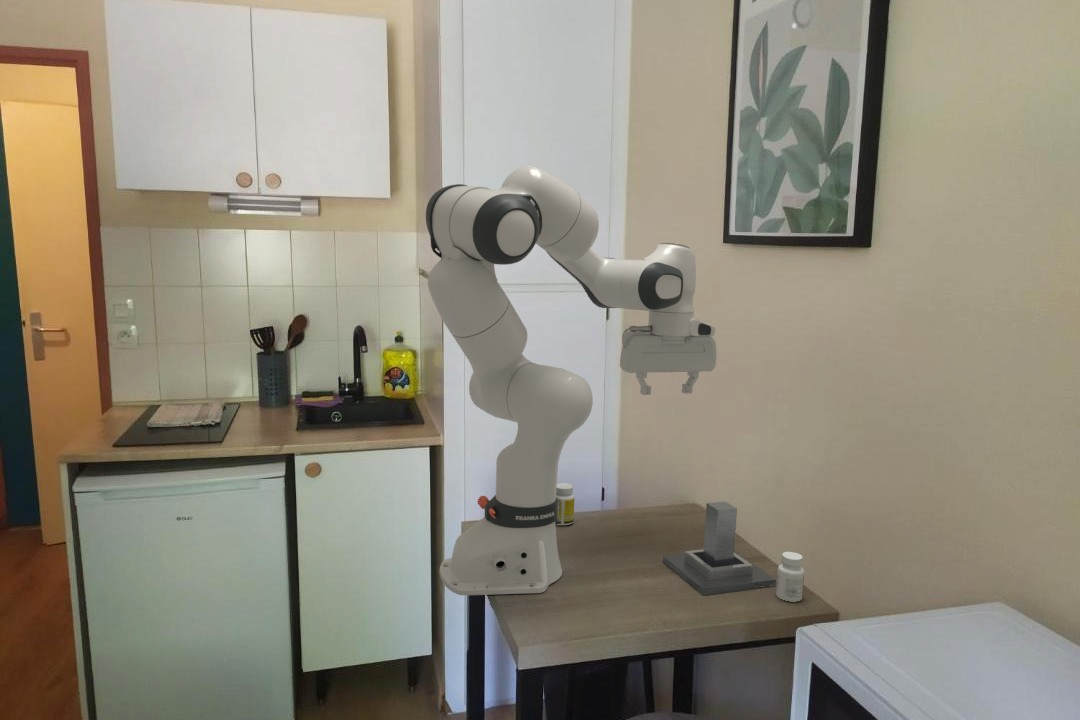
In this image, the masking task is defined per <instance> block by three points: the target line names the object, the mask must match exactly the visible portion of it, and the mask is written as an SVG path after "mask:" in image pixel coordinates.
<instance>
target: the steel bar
mask: <svg viewBox="0 0 1080 720" xmlns="http://www.w3.org/2000/svg"><path fill="white" fill-rule="evenodd" d="M705 506H706V507H705V521H704V538H703V548H702V549H703V561H704V562H705V563H707V564H708V565H709V566H711V567H712V568H714V567H722V566H730V565H733V559H734V551H735V542H736V530H737V529H736V528H737V516H738V515H737V514H738V507H735V506H734V505H732V504H731V503H728V502H727V501H715V502H707V503H706V505H705Z"/></svg>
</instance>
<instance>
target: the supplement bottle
mask: <svg viewBox="0 0 1080 720" xmlns="http://www.w3.org/2000/svg"><path fill="white" fill-rule="evenodd" d="M556 497H557V498H558V508H559V514H558V523H557V524H562V525H567V524H572V523H573V524H574V520H575V494H574V486H573V484H571V483H566V482H560V483H557V487H556ZM573 524H572V525H573Z"/></svg>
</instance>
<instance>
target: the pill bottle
mask: <svg viewBox="0 0 1080 720" xmlns="http://www.w3.org/2000/svg"><path fill="white" fill-rule="evenodd" d="M803 557H804V556H803V555H802V554H800V553H797V552H793V551H785V552H782V554H781V560H780V561H781V564H779V565H778V568H777V575H776V576H777V577H776V586H775V587H776V589H775V596H776V597H777V598H778V599H780V600H781V599H782V600H781V601H784V600H785V602H787V601H789V603H797V601H798V602H800V601H801V600H802V598H803V592H804V581H805V569H804V568H803V567H802V566H803Z"/></svg>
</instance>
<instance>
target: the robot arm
mask: <svg viewBox="0 0 1080 720" xmlns="http://www.w3.org/2000/svg"><path fill="white" fill-rule="evenodd" d="M428 200H429V201H428V202H427V205H426V209H425V223H426V227H427V231H428V234H429V236H430V237H429V238H430V247H431V250H432V252H433V253H434V254H435V255H436V256H437V257H439V258H441V259H439V261H438V262H436V263H435V264H434V266H433V267H432V268H431V270H430V272H429V274H428V277H427V289H428V291H429V293H430V296H431V299H432V301H433V303H434V306H435V308H436V310H437V312H438V314H439V316H440V318H441V320H442V321H443V323H444V325H445V326H446V328H447V330H448V331H449V333H450V334H451V335H452V338H454V340H455V342H456V343H457V345H458V346H459V348H460V349H461V351H462V352H463V354H464V356H465V357H466V359H467V360H468V361H469V363H470V366H471V368H472V374H471V376H470V379H469V384H468V385H469V386H468V390H469V396H470V399H471V401H472V404H474V406H476V407H477V408H479V409H480V410H482V411H484V412H485V413H487V414H488V415H491V416H493V417H495V418H498V419H501V420H507V421H509V422H513V423H514V422H515V423H517V430H516V431H517V433H516V436H515V439H514V441H513V443H511V444H509V445H507V446H505V447H504V448H503V449H502V450H501V451H500V452H499V453H498V455H497V458H496V462H495V463H496V465H495V466H496V469H495V473H496V474H495V495H494V496H493V497H492V498H490V499H489V498H488V497H487V496H485V495H480V496H479V497H478V498H477V505H478V506H479V507H480V508H481V509H482V510H484V517H483V518H481V519H480V520H479V521H478V522H476V523H475V524H473V525H472V526H471V527H469V528H468V529H467V530H466V531H464V532H462V533H461V534H460V535H459V536H458V537H457V538H456V540H455V543H454V545H453V546H454V547H453V550H452V555H451V557H449V558H446V559H444V560H443V561H442V562H441V563H440V566H439V571H438V574H439V577H440V579H441V582H442V584H443V585H444V587H446V588H447V589H448V590H449V591H450V592H452V593H454V594H456V595H459V596H483V595H484V596H486V595H491V596H492V595H512V594H513V595H518V594H519V595H520V594H521V595H523V594H541V593H544V592H546V590H547V589H548V587H549V586H550V585H551V584H553V583H555V582H557V581H558V580H559V579H560V578H561V576H562V574H563V568H562V565H561V561H560V556H559V550H558V539H557V527H558V525H557V523H558V514H559V508H558V498H557V497H556V487H557V484H558V483H557V482H558V481H557V480H558V471H559V462H560V457H561V453H562V450H563V448H564V446H565V443H566V441H567V440H568V438H570V436H571V434H573V433H574V432H575V431H577V430H578V429H580V428H581V427H582V426H583V425H584V424H585V422H586V421H587V420H588V419H589V417H590V414H591V412H592V410H593V409H592V408H593V404H594V403H593V402H594V401H593V391H592V389H591V385H590V383H589V382H588V381H587V380H586V379H585V378H584V377H583V376H580V375H578V374H577V373H573V372H571V371H569V370H567V369H564V368H562V367H561V368H560V367H557V366H555V367H554V366H550V365H544V364H538V363H535V362H533V361H531V360H529V359H528V358H526V357H525V356H524V354H523V352H524V350H525V348H526V345H527V341H528V331H527V328H526V326H525V324H524V323H523V321H522V320H521V318H520V316H519V314H518V313H517V311H516V309H515V307H514V306H513V304H512V302H511V301H510V299H509V297H508V295H507V294H506V293H505V291H504V289H503V287H502V286H501V285H500V283H499V282H498V280H499V279H498V278H497V273H496V269H495V265H500V266H501V265H513V264H516V263H519V262H521V261H522V260H524V259H525V258H526V257H527V256H529V254H530V253H531V251H532V250H533V249H534V247H535V245H537V246H538V247H540V248H541V249H542V250H544V251H545V252H546V253H547V254H548V256H549V257H550V258H551V259H552V260H553V261H554V262H555V263H557V264H558V265H559V266H560V267H561V268H562V269H564V270H565V271H566V273H568V274H569V275H570V276H572V278H574V279H575V280H576V281H577V282H578V283H579V284H580V285H581V287H582V288H583V290H584V292H585V293H586V295H587V297H588V298H589V300H590V301H591V302H592V303H593V304H594V305H595V306H596V307H598V308H602V309H624V310H625V309H626V310H634V311H647V312H648V322H647V323H648V324H647V325H639V326H638V325H629V327H627V328H626V329H625V330H624V331H623V332H622V338H621V342H622V347H621V352H620V358H619V359H620V360H619V367H620V368H621V371H623V372H624V373H629V374H635V378H636V379H637V382H638V383H639V385H640V391H639V392H640V394H641V395H642V396H650V395H651V394H652V386H651V385H648V384H647V381H646V379H647V378H648V374H649V373H651V374H652V373H655V374H656V373H687V376H689V377H687V380H686V383H682V384H681V385H682V386H681V392H682V394H687V395H688V394H693V390H694V389H693V387H694V385H695V383H696V382H697V380H698V378H699V372H700V373H701V372H713V370H714V369H715V367H716V365H717V343H716V340H715V338H714V336H715V335H716V326H714V325H713V324H710V323H707V322H704V321H702V320H699V319H697V318H695V317H694V314H695V313H694V312H695V310H694V309H695V308H694V303H693V299H694V296H695V292H696V284H697V282H696V281H697V279H696V278H697V268H696V267H697V265H696V256H695V253H694V250H693V249H692V248H690V247H689V246H687V245H683V244H679V243H678V244H677V243H672V242H662V243H659V244H657V245H656V246H655V248H654V251H653V252H652V253H651V254H648V255H646V256H645V257H643V258H642V259H623V258H615V257H614V258H613V257H602V256H600V255H599V254H597V253H596V252H595V251H594V250H593V249H592V247H593V246H594V244H595V242H596V240H597V236H598V233H599V228H600V227H599V226H600V225H599V223H600V221H599V215H598V213H597V211H596V209H595V208H594V207H593V206H592V204H591V203H590V201H588V200H587V199H586V198H585V197H584V196H583V195H582V194H580V193H579V192H577V191H576V190H575V189H574V188H572V186H570V185H569V184H567V183H566V182H564V181H563V180H562V179H560V178H558V177H556V175H553V174H551V173H550V172H548V171H546V170H544V169H542V168H539V167H538V166H533V165H524V166H521V167H518V168H517V169H515V170H513V171H512V172H511V173H509V174H508V175H507V177H506V178H505V179H504V181H503V183H502V184H501V186H500V188H499V189H498V190H496V189H495V190H494V189H491V188H488V187H485V186H479V185H467V184H461V183H459V184H458V183H456V184H451V185H447V186H444V187H442V188H440V189H438V190H437V191H436V192H434V193H433V195H432V196H431V197H430V198H429V199H428Z"/></svg>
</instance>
